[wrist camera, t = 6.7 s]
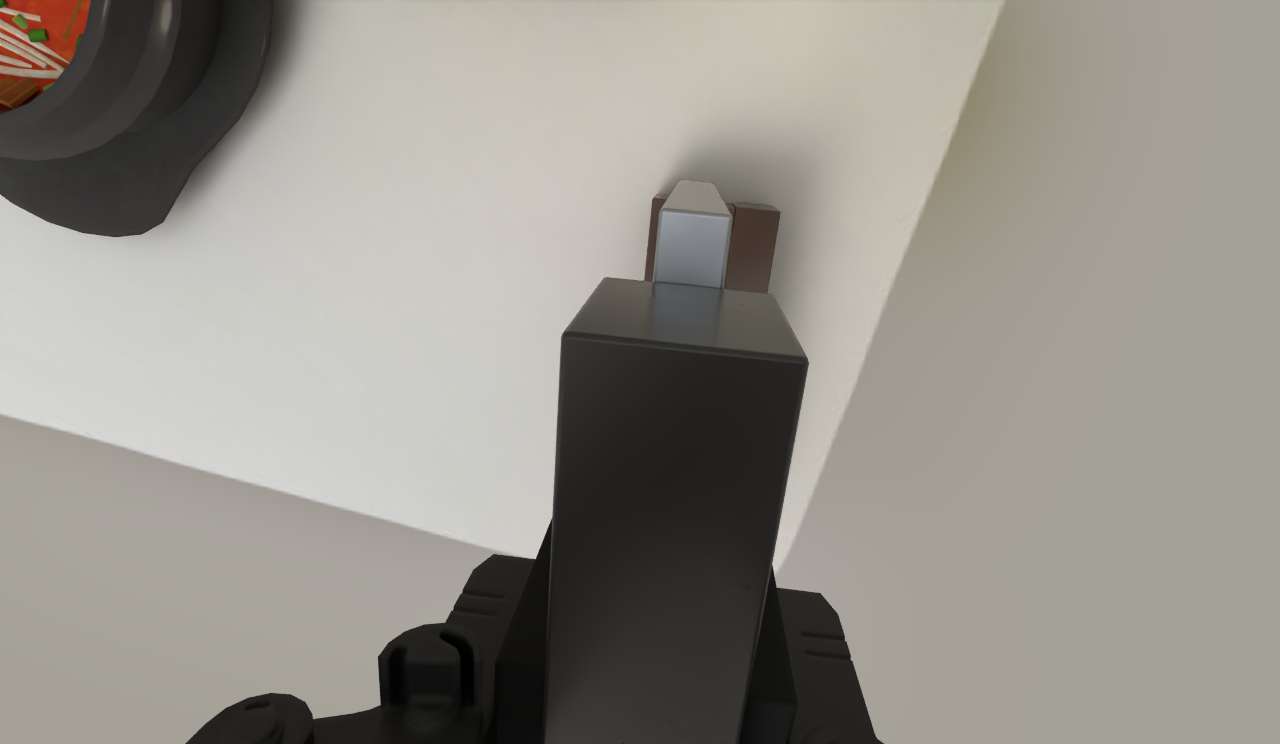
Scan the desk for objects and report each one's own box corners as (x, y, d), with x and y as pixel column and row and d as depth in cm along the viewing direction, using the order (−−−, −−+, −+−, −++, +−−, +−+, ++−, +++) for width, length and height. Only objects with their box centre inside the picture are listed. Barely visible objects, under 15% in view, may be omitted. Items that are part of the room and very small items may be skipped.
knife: (739, 185, 18) (830, 253, 6) (684, 597, 23) (670, 1125, 10) (654, 177, 18) (565, 225, 6) (616, 588, 23) (523, 1100, 10)
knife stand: (773, 206, 32) (780, 211, 29) (724, 506, 37) (727, 535, 34) (656, 193, 32) (652, 197, 29) (625, 493, 37) (619, 521, 35)
